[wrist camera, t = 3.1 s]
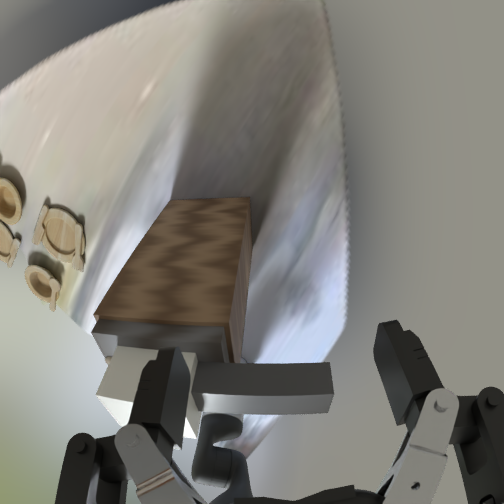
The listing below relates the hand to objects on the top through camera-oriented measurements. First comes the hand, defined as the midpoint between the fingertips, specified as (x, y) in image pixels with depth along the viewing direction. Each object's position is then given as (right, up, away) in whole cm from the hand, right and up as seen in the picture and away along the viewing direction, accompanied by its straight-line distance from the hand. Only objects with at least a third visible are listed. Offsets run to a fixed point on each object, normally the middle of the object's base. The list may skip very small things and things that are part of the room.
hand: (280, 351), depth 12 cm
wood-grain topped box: (-8, +9, +43) cm, 44 cm away
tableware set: (-54, +7, +47) cm, 72 cm away
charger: (-4, -8, +16) cm, 18 cm away
